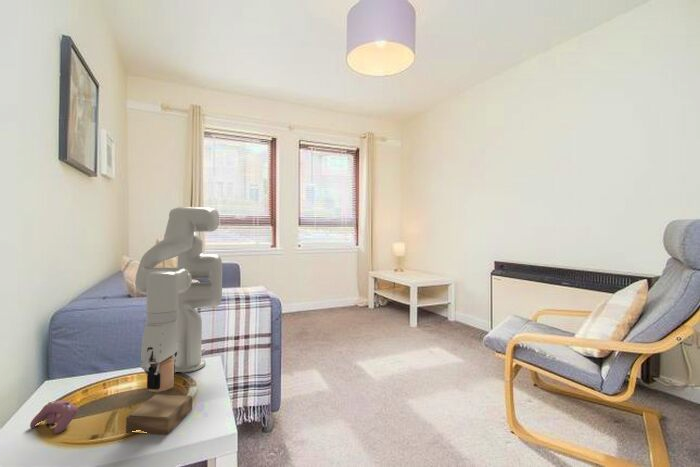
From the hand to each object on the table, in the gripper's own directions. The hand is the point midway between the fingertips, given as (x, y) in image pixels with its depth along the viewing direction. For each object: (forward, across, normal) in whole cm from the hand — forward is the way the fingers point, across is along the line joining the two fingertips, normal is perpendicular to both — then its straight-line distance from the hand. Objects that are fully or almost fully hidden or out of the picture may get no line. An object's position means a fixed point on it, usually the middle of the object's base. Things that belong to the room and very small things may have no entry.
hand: (161, 382), depth 93 cm
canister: (+1, 0, 0) cm, 1 cm away
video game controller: (+11, +4, -26) cm, 29 cm away
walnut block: (+10, 0, 0) cm, 10 cm away
